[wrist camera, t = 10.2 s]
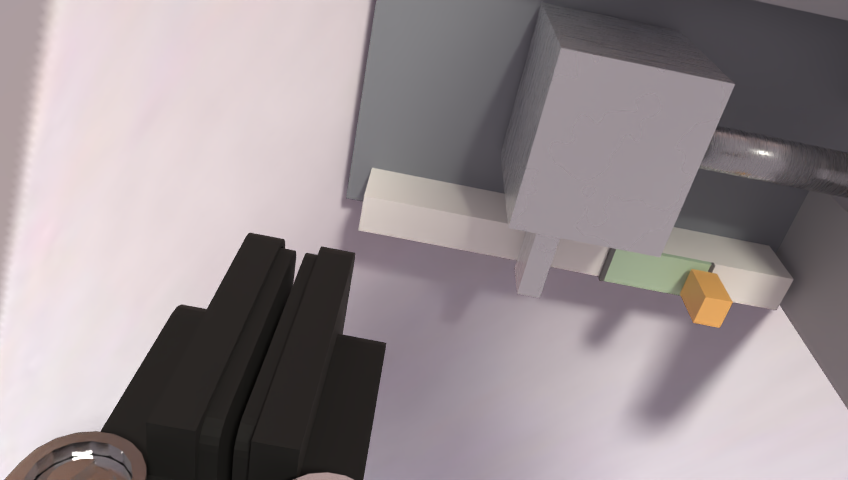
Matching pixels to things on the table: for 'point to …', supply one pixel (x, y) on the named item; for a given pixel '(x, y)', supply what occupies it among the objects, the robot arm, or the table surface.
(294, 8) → the table surface
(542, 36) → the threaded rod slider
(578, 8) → the track
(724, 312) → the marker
